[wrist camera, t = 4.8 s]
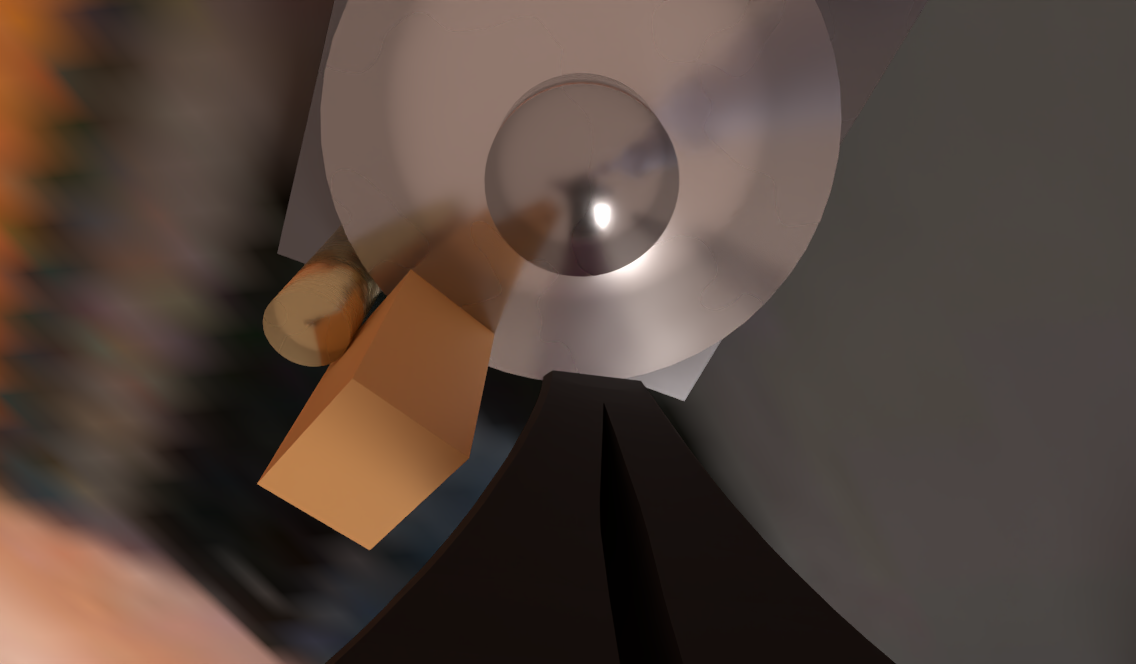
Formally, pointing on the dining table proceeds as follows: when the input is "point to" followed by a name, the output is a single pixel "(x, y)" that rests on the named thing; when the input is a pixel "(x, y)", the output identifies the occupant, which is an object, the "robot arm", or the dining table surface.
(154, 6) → the dining table surface
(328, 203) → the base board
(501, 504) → the robot arm
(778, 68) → the flange plate
